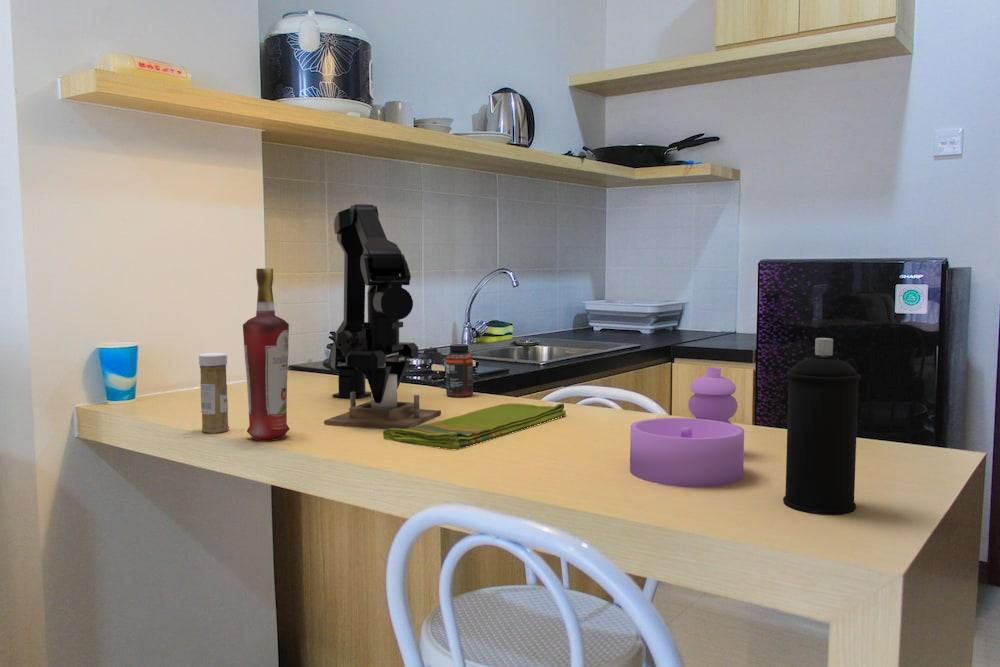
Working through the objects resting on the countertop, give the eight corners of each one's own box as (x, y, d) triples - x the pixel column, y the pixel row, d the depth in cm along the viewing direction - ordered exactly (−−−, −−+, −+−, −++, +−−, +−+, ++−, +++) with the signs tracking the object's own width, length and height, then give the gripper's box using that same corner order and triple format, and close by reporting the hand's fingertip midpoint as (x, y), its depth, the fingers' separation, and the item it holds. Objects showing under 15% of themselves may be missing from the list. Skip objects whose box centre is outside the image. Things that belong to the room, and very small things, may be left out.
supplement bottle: (473, 393, 187) (473, 343, 187) (473, 397, 182) (472, 345, 181) (446, 393, 187) (446, 343, 186) (445, 397, 181) (445, 345, 180)
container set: (727, 493, 106) (729, 390, 105) (613, 479, 113) (614, 382, 112) (768, 454, 128) (770, 368, 127) (670, 444, 135) (671, 362, 134)
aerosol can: (857, 518, 95) (863, 342, 94) (780, 510, 98) (785, 340, 97) (855, 499, 103) (861, 336, 101) (784, 492, 106) (789, 334, 104)
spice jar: (233, 431, 145) (231, 353, 144) (208, 434, 142) (206, 355, 141) (221, 427, 148) (219, 351, 147) (196, 430, 145) (194, 353, 144)
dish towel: (380, 442, 139) (379, 423, 138) (500, 411, 168) (500, 395, 168) (454, 454, 130) (454, 433, 130) (568, 419, 160) (568, 402, 159)
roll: (378, 404, 159) (378, 372, 158) (401, 405, 157) (401, 373, 157) (366, 408, 154) (366, 375, 154) (390, 410, 153) (390, 376, 152)
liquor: (261, 432, 144) (257, 268, 142) (299, 434, 142) (296, 268, 140) (236, 440, 137) (232, 268, 135) (276, 443, 135) (272, 268, 133)
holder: (365, 410, 166) (365, 385, 166) (441, 414, 161) (440, 389, 161) (324, 424, 151) (324, 398, 151) (406, 430, 146) (405, 402, 146)
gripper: (367, 313, 166) (368, 391, 167) (318, 318, 148) (319, 406, 149) (419, 314, 162) (419, 394, 164) (375, 320, 145) (376, 410, 146)
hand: (384, 400), depth 156 cm, fingers closed on roll, 5 cm apart
